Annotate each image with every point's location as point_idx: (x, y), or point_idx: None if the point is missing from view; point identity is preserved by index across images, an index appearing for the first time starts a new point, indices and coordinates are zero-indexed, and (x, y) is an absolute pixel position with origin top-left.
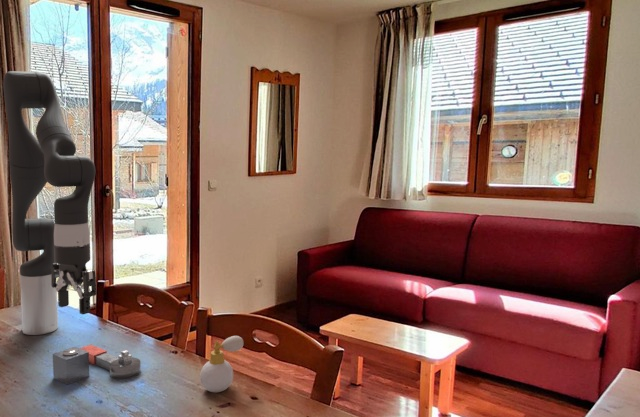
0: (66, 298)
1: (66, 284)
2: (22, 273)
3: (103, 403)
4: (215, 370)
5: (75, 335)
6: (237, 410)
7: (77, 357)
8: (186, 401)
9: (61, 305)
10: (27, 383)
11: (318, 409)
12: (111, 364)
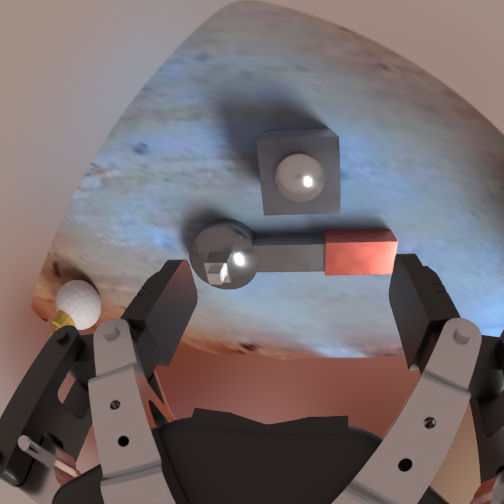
0: (401, 318)
1: (327, 418)
2: None
3: (129, 151)
4: (56, 302)
5: (479, 288)
6: (44, 267)
7: (260, 177)
8: (76, 247)
9: (398, 264)
10: (350, 75)
11: (33, 307)
12: (238, 239)
